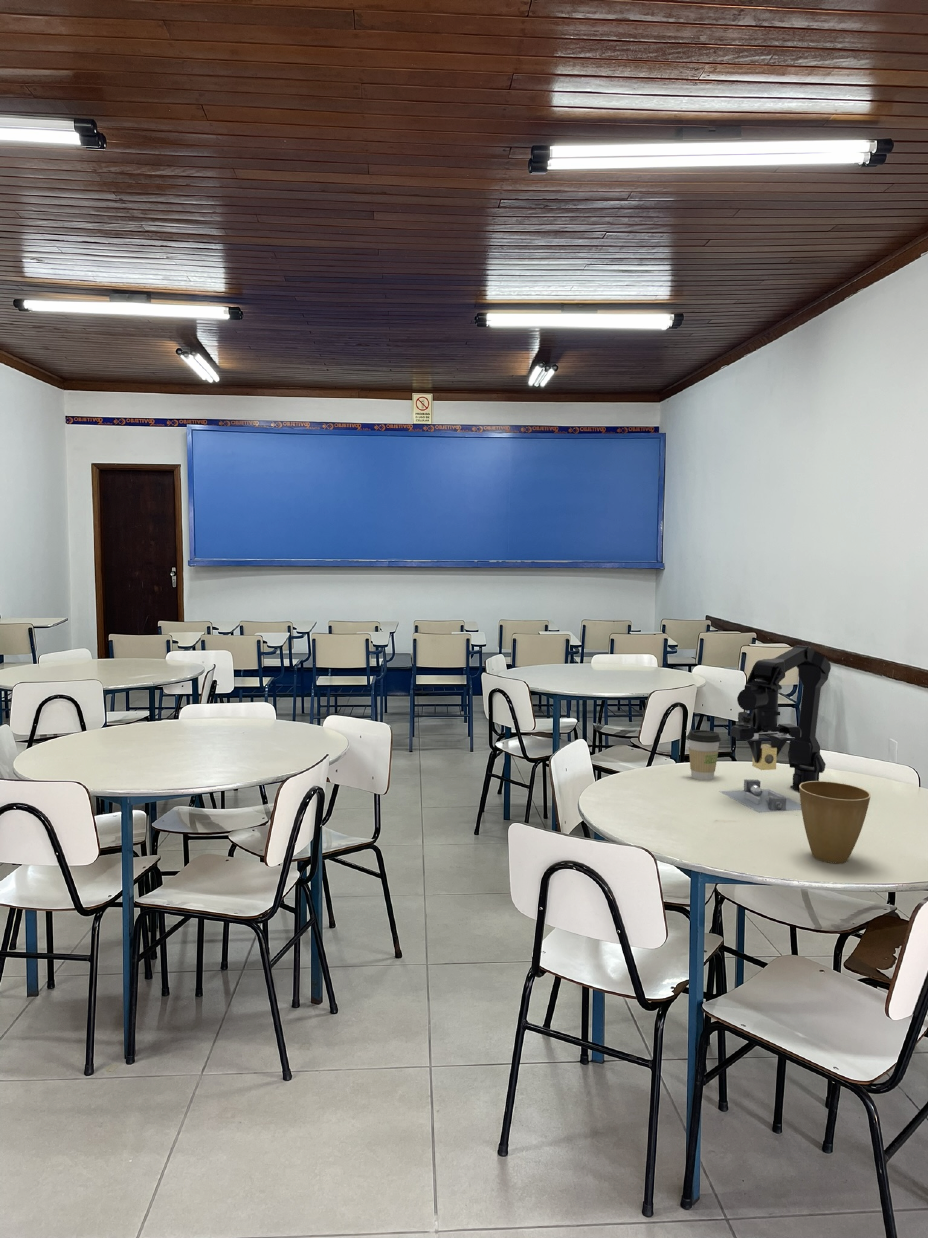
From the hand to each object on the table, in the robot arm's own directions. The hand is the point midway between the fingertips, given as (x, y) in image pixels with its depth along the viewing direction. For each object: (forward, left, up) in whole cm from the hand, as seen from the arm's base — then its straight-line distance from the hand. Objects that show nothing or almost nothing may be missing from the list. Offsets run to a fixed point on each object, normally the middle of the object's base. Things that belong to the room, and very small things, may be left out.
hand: (764, 762), depth 234 cm
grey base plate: (0, 0, -12) cm, 12 cm away
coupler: (0, 0, -2) cm, 2 cm away
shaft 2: (+1, +7, -11) cm, 13 cm away
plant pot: (+9, +41, -12) cm, 44 cm away
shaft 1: (-1, -6, -11) cm, 12 cm away
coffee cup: (+5, -25, -12) cm, 28 cm away
